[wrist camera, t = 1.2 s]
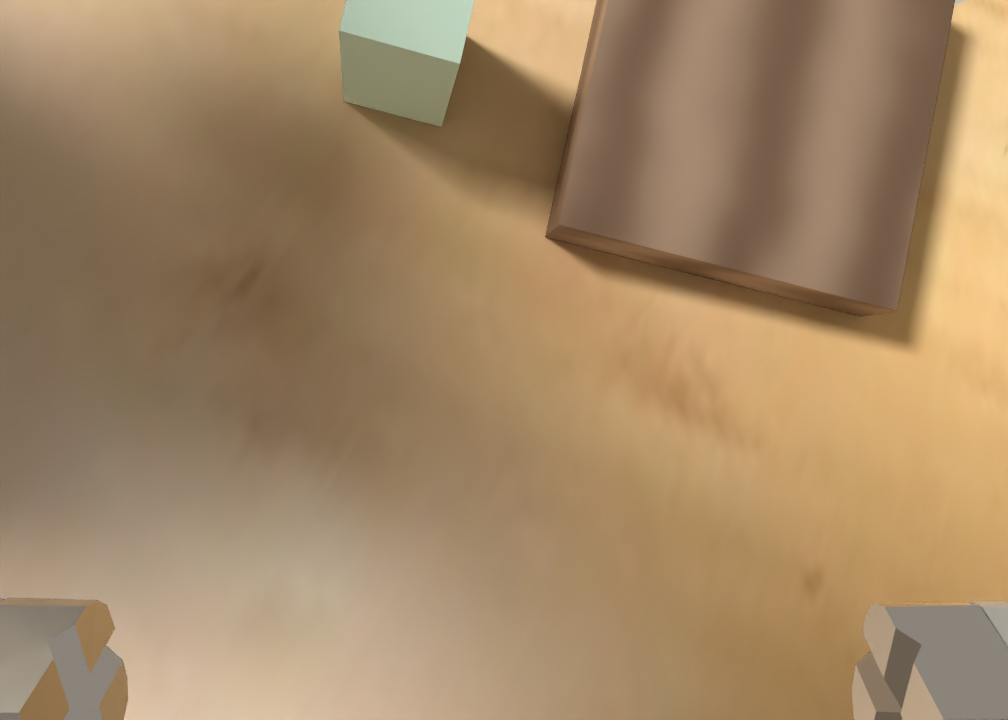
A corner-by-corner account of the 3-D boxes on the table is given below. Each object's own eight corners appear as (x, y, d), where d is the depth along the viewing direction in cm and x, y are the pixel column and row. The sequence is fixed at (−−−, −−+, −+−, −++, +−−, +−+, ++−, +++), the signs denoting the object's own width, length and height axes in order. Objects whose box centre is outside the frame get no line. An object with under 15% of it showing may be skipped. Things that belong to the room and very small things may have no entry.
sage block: (343, 101, 41) (339, 30, 33) (366, 6, 41) (367, -87, 33) (441, 127, 42) (460, 63, 34) (462, 33, 42) (486, -52, 34)
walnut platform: (545, 236, 42) (559, 224, 39) (616, -89, 43) (635, -125, 40) (861, 316, 44) (897, 310, 41) (920, 4, 45) (959, -23, 42)
